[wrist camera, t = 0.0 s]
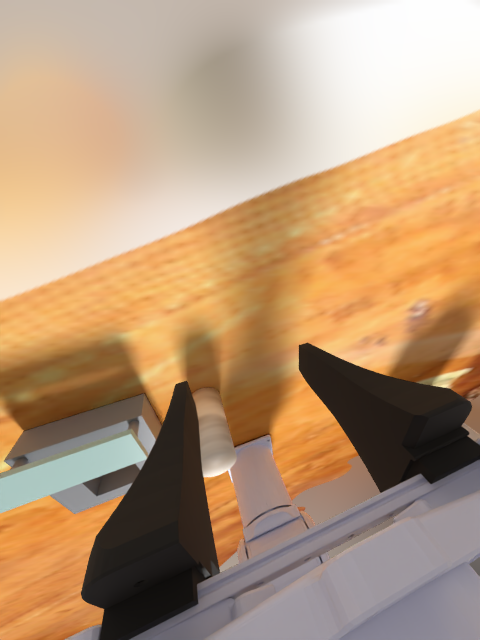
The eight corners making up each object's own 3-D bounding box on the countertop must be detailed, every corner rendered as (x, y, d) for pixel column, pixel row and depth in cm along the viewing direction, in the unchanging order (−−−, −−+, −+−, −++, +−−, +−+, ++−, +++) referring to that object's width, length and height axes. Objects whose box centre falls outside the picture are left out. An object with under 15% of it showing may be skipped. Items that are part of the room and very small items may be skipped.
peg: (222, 404, 28) (239, 466, 21) (193, 414, 27) (200, 482, 21) (216, 383, 26) (233, 444, 19) (184, 393, 25) (190, 461, 19)
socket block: (175, 451, 30) (176, 501, 24) (83, 485, 27) (63, 548, 22) (139, 383, 23) (130, 433, 18) (13, 422, 21) (-38, 491, 16)
